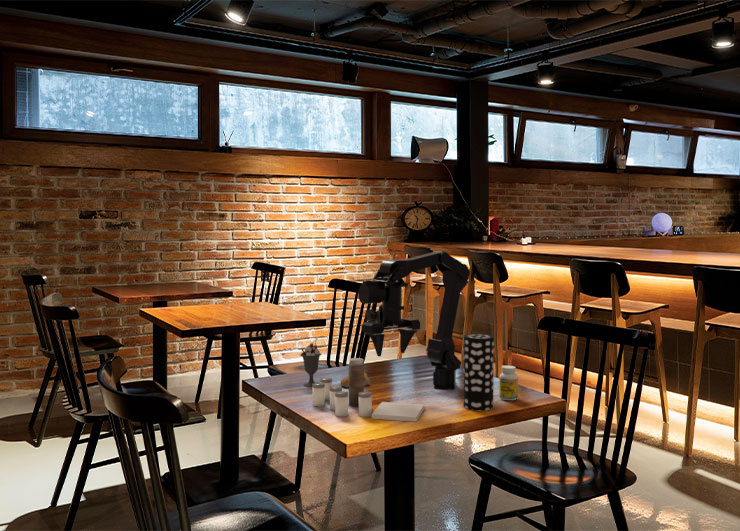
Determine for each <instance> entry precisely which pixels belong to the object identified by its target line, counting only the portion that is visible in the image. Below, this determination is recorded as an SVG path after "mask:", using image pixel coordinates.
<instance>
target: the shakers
mask: <svg viewBox="0 0 740 531" xmlns="http://www.w3.org/2000/svg"><path fill="white" fill-rule="evenodd" d="M311 388H312V406H313V407H317V406H319V407H325V404H326V401H329V409H330V411H331V410H332V411H334V415H335V416H336V417H339V418H341V417H342V418H343V417H347V416H349V391H345V390H344V391H343V386H341V385H333V378H332V377H321V378H319V382H315V383H313V384H312V387H311ZM372 395H373V394H372V392H370V391H364V392H359V407H358V416H359V417H361V418H369V417H372V413H373V412H372V410H373V409H372V408H373V405H372V402H373V400H372V399H373V398H372V397H373V396H372Z"/></svg>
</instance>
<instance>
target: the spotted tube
mask: <svg viewBox="0 0 740 531" xmlns="http://www.w3.org/2000/svg"><path fill="white" fill-rule="evenodd" d="M494 341H495V337H494V335H491V334H487V333H486V334H484V333H469V334H464V335H463V383H462V384H463V385H462V386H463V395H462V396H463V398H462V399H463V401H462V402H463V404H462V405H463V406H462V407H463V408H465V409H466V408H467V409H466V410H470V411H476V410H485V411H489V410H488V409H490V410H492V409H494V364H495V362H494V360H495V358H494V354H495V353H494V351H495V350H494V348H495V347H494V345H495V343H494ZM491 408H492V409H491Z"/></svg>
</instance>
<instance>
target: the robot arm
mask: <svg viewBox="0 0 740 531" xmlns="http://www.w3.org/2000/svg"><path fill="white" fill-rule="evenodd" d="M380 263H381V264H380V265H379V269H378V270H377V272H376V273H375V275H374V276H373V278H372V280H368V279H367V280H366V279H363V280H362V284H361V285H360V287H359V289H358V291H357V296H358V297H357V298H358V300H359V302H360V303H361V304H363V305H369V304H370V305H371V304H378V305H379V304H380V305H379V306H378V310H376V311H375V310H374V309H373V308H371V309H366V310H365V313H364V318H365V321H363V323H362V324H361V333H364V334H365V335H366V336H368V337H369V338H370V339H371V342H372V343H373V346H374V349H375V352H376V356H377V357H381V356H382V352H383V347H384V340H385V333H384V331H385V330H392V329H393V330H394V329H395V330H396V329H397V330H398V332H399V335H400V338H399V339H400V343H399V344H400V353H401V354H405V352H406V351H407V348H408V346H409V344H410V343H411V340H412V339H413V337H414V335H415V334H416V333H418V330H421V322H420V320H419V319H417V318H411V317H405V318H403V317H402V311H404V310H405V306H403V305H402V302H403V301H402V294H403V292H402V291H403V288H407V287H408V286H409V284H408V283H407V282H406V281H405V280H404V278H406V277H408V276H409V275H410V274H411V273H414V272H417V271H419V270H420V271H421V270H424V269H427V268H432V267H435V266H436V268H437V270H438V271H439V272H440V273H441V274H442V278H441V279H442V283H443V284H442V285H443V288H444V293H443V297H442V304H441V308H440V314H439V320H438V324H437V330H436V334H435V335H434V337H433V338H431V337H430V338H429V339H428V341H427V347H426V349H425V351H426V357H427V358H428V360H429V363H430V365H431V367H434V371H433V372H432V377H433V378H432V385H433V388H434V389H443V390H444V389H445V390H446V389H447V390H455V389H456V387H457V381H456V380H457V378H456V376H457V370H460V369H461V366H462V361H461V360H460V359H459V358H458V357H457V355H455V354H456V352H455V351H456V347H455V346H456V345H455V342H454V339H453V334H454V329H455V324H456V323H455V322H456V318H457V313H458V308H459V302H460V301H459V300H460V296H461V292H462V291H463V290H464V288H466V286H467V284H468V281H469V279H470V276H471V275H470V274H471V271H470V268H469V267H468V265H467V264H465V263H462V261H460V260H458V259H456V258H455V257H453V256H451V255H450V254H449V253H448V252H446V251H445V250H443V251H442V250H434V251H432V252H427V253H425V254H422V255H417V256H413V257H409V258H406V259H402V258H401V259H398V258H397V259H392V258H391V259H384V260H382V261H381V262H380Z"/></svg>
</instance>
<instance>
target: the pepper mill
mask: <svg viewBox="0 0 740 531" xmlns="http://www.w3.org/2000/svg"><path fill="white" fill-rule="evenodd" d="M348 361H349V362H348V376H349V388H348V406H350V407H356V408H357V407H358V408H359V392H365V386H364V373H365V364H364V359H363V358H361V357H360V358H358V357H356V358H355V357H353V358H349V360H348Z"/></svg>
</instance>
